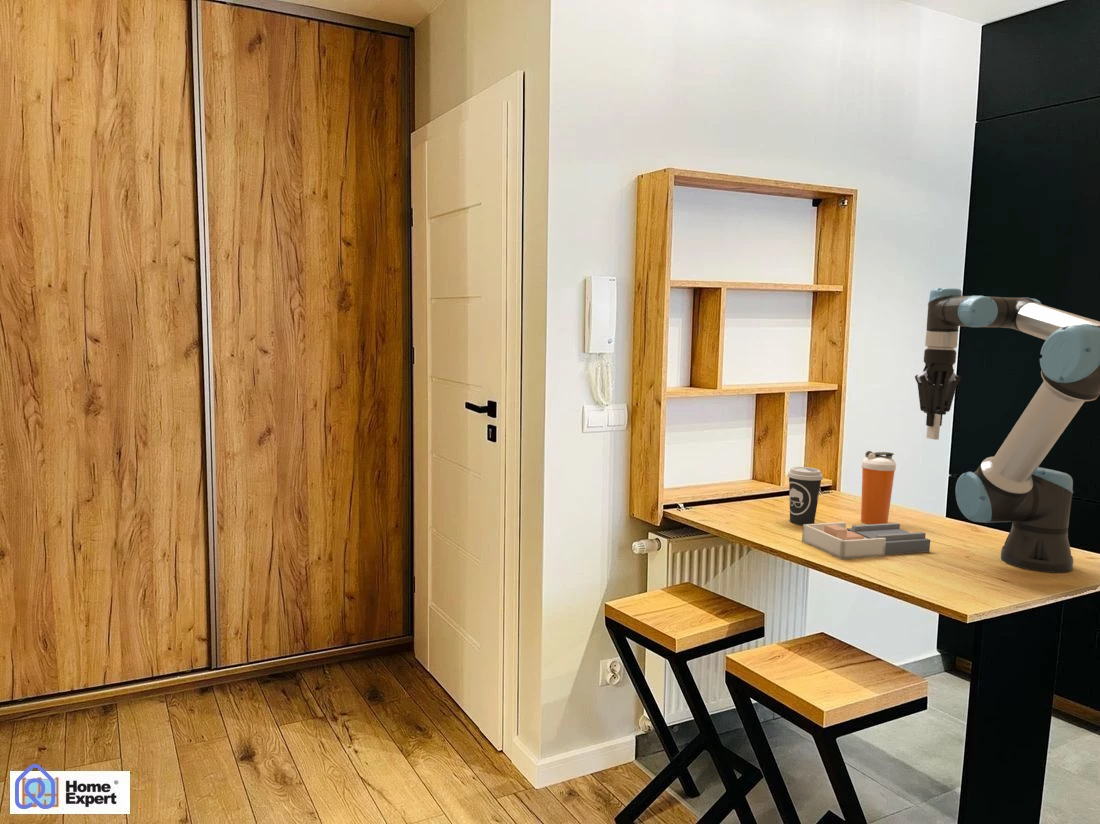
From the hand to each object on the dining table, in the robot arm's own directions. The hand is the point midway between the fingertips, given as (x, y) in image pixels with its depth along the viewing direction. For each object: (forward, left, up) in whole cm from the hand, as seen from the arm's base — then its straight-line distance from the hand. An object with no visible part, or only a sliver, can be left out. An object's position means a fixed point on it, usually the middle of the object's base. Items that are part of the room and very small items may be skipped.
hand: (932, 438), depth 223 cm
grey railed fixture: (-5, +16, -26) cm, 31 cm away
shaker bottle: (+16, +3, -27) cm, 31 cm away
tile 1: (-5, +31, -23) cm, 39 cm away
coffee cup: (+20, +24, -27) cm, 41 cm away
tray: (-5, +30, -26) cm, 40 cm away
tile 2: (-5, +28, -26) cm, 38 cm away
